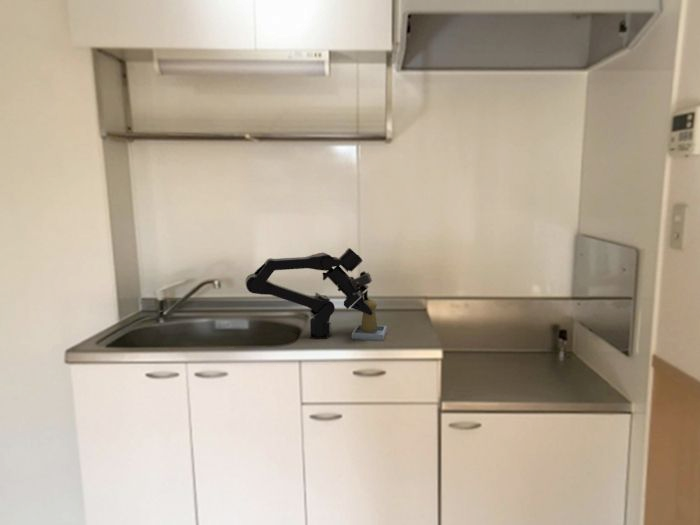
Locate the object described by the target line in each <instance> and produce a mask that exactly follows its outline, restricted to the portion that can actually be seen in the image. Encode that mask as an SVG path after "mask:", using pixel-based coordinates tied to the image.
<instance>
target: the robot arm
mask: <svg viewBox="0 0 700 525" xmlns="http://www.w3.org/2000/svg"><path fill="white" fill-rule="evenodd" d="M362 262H363V259H362V257H360V255H358V253H356V252H355V251H354V250H353V249H352V248H350V247H348V248H347V249H346V250H345V252H344V253H342V255H341V256H340V257H336V256H331V255H330V254H328V253H326V252H318V253H315V254H311V255H307V256H300V257H299V256H298V257H284V258H283V257H281V258H271V257H270V258H268V259H266V260H265V261H264V263H263V264H262V265H260V266H259V267H258V268H257V269H256V270H255V272H253V273H251V274H248V275H247V276H246V278H245V281H244V282H245V286H246V289H247V291H248V292H250V293H251V294H256V295H266V296H273V297H276V298H279V299H281V300H285V301H288V302H291V303H294V304H298V305H300V306H304V307H307V308H309V309H310V311H309V314H310V317H311V319H310V324H309V325H310V335H309V338H310V339H328V338H329V337H330V335H331V334H332V323H331V322H330V318H331V316H332V315H333V314H334V312H335V310H336V309H335V308H336V307H335V304H334V303H333V302H332V300H331V299H330V298H329V297H328V296H327V295H326V294H325V295H323V294H320V293H318V292H315V295H309V294H305V293H303V292H300V291H297V290H293V289H291V288H288V287H285V286H282V285H279V284H275V283H273V282H271V281H270V280H269V278H270V277H271V276H272V274H274V272H275V271H286V270H289V271H290V270H299V269H300V270H303V269H309V270H316V271H322V280H323V281H326V280H327V279H329V280H330V281H331V282H332V284H334V285H335V286H336V287H337V291H338V292H341V293H342V294H343V295H344V296H345V300H344V301H343V306H344V307H345V308H346V309H347V310H348V309H349V308H350V309H354V310H356V311H359V312H362V313H363V312H364V313H366V314H369V315H372V314H373V312H372V311H371V309H370V308H369V307H368V305H367V304H366V303H365V301H364V300H370V298H369V296H368V295H369V294H368V293H369V290H368V288H369V286H368V285H369V284H370V283H372V281H373V280H372V277H371V274H370V273H369V272H367V271H361V272H360V273H359V276H358V277H356V278H355V277H353V276H350V275H349V274H347V273H348V272H351V273H353V271H354V270H355V269H356V268H357V267H358V266H359V265H360V264H362ZM333 267H334V268H333ZM323 271H325V272H323ZM346 272H347V273H346Z"/></svg>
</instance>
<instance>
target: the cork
mask: <svg viewBox="0 0 700 525" xmlns="http://www.w3.org/2000/svg"><path fill="white" fill-rule="evenodd" d="M364 301H365V303H366V304H367V305H368V307H369V308H370V309H371V311H372V312H373V314H372V315H369V314H366V313H364V312H362V317H361V318H362V319H361V324H360V325H361V331H362V332H366V333H373V332H377V331H378V329H377V326H378V323H377V317H376V316H377V315H376V309H377V306H378V305H377V302H376V300H374V299H369V300H364Z"/></svg>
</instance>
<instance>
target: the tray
mask: <svg viewBox="0 0 700 525" xmlns="http://www.w3.org/2000/svg"><path fill="white" fill-rule="evenodd" d="M377 329H378V331H377V332H373V333H366V332H362V331H361V324H357V325H356V327H355V328H354V330H353V331H352V333H351V340H353V339H354V340H356V341H357V340H358V341H376V342H377V341H379V342H382V341H384V338H385V336H386V335H387V331H388V327H387V325H377Z"/></svg>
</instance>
